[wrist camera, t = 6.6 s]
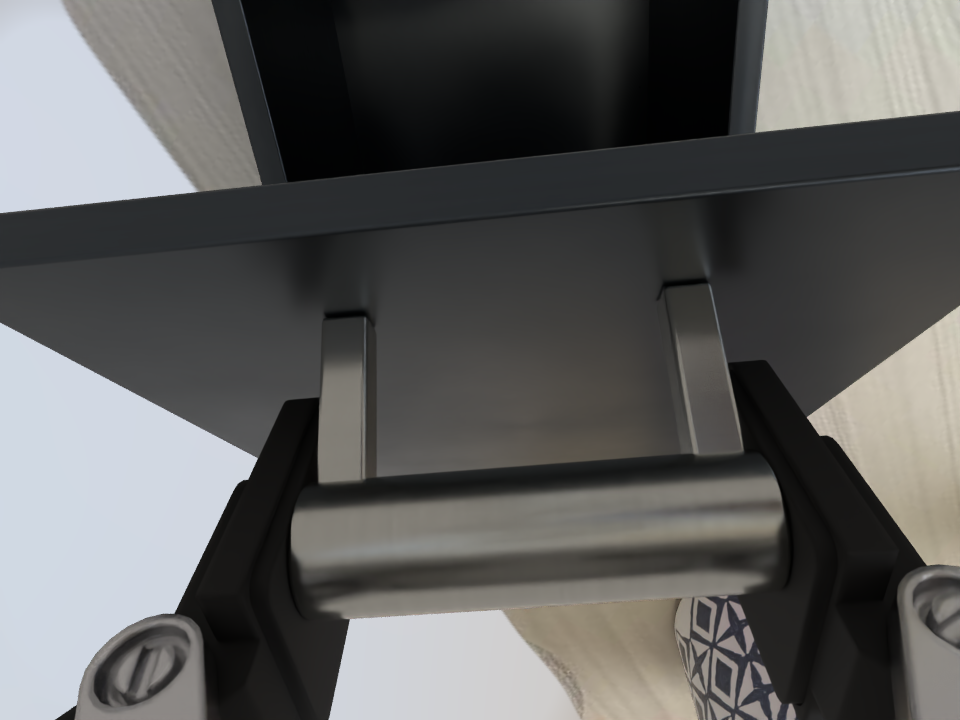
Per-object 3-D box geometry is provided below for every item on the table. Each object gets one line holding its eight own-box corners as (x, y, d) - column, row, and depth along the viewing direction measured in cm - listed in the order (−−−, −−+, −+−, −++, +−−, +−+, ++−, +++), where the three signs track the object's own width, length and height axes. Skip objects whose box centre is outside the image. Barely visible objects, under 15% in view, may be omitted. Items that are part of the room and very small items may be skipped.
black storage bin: (309, -31, 27) (199, -38, 17) (666, -77, 26) (780, -114, 16) (385, 340, 36) (344, 484, 26) (654, 316, 35) (723, 456, 25)
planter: (918, 643, 48) (1068, 875, 36) (707, 698, 52) (776, 926, 39) (883, 495, 41) (1055, 721, 28) (641, 571, 45) (700, 801, 32)
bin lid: (-78, 218, 8) (-204, 652, 6) (1150, 87, 7) (1404, 552, 5) (342, 482, 25) (339, 620, 24) (724, 453, 24) (752, 594, 23)
